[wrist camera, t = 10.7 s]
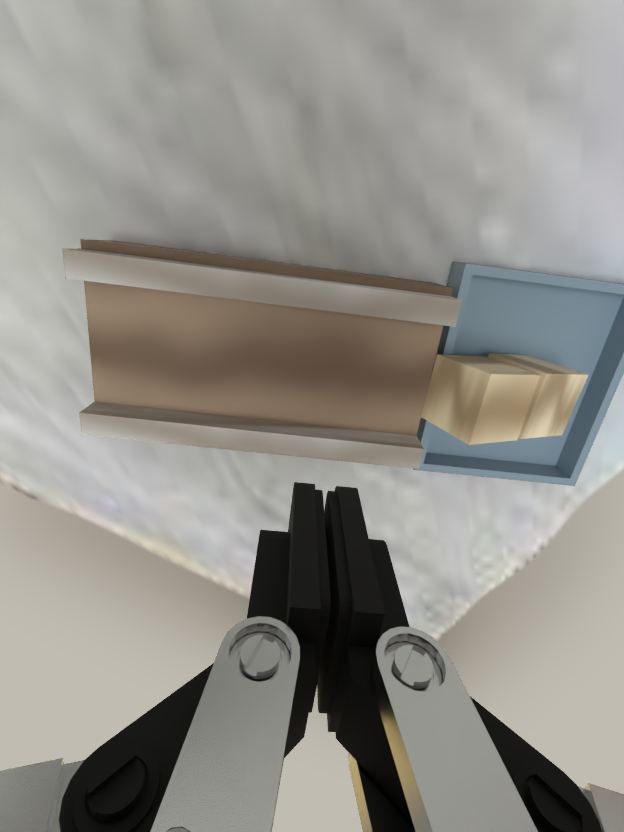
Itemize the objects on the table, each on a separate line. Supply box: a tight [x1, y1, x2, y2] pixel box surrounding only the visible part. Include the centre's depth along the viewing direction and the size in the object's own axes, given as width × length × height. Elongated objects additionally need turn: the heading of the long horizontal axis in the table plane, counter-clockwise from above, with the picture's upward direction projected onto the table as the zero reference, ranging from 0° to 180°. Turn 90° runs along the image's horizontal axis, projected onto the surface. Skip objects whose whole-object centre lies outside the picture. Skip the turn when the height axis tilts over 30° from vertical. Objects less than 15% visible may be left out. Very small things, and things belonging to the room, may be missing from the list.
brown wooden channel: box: [62, 239, 462, 469], centre depth 27 cm, size 12×22×6 cm, turn 83°
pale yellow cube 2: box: [488, 353, 588, 439], centre depth 28 cm, size 4×4×4 cm
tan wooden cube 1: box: [421, 354, 540, 445], centre depth 26 cm, size 4×4×4 cm
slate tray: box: [413, 262, 624, 486], centre depth 30 cm, size 15×13×2 cm
